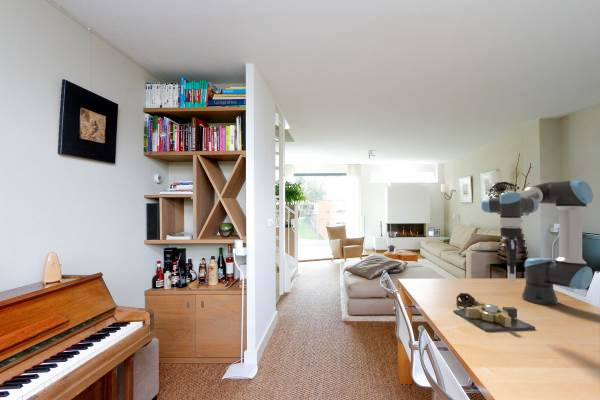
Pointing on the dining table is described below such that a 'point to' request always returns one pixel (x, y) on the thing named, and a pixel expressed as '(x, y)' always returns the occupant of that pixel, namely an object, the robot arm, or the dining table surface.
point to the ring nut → (500, 317)
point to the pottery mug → (465, 300)
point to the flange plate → (495, 326)
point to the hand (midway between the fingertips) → (511, 280)
